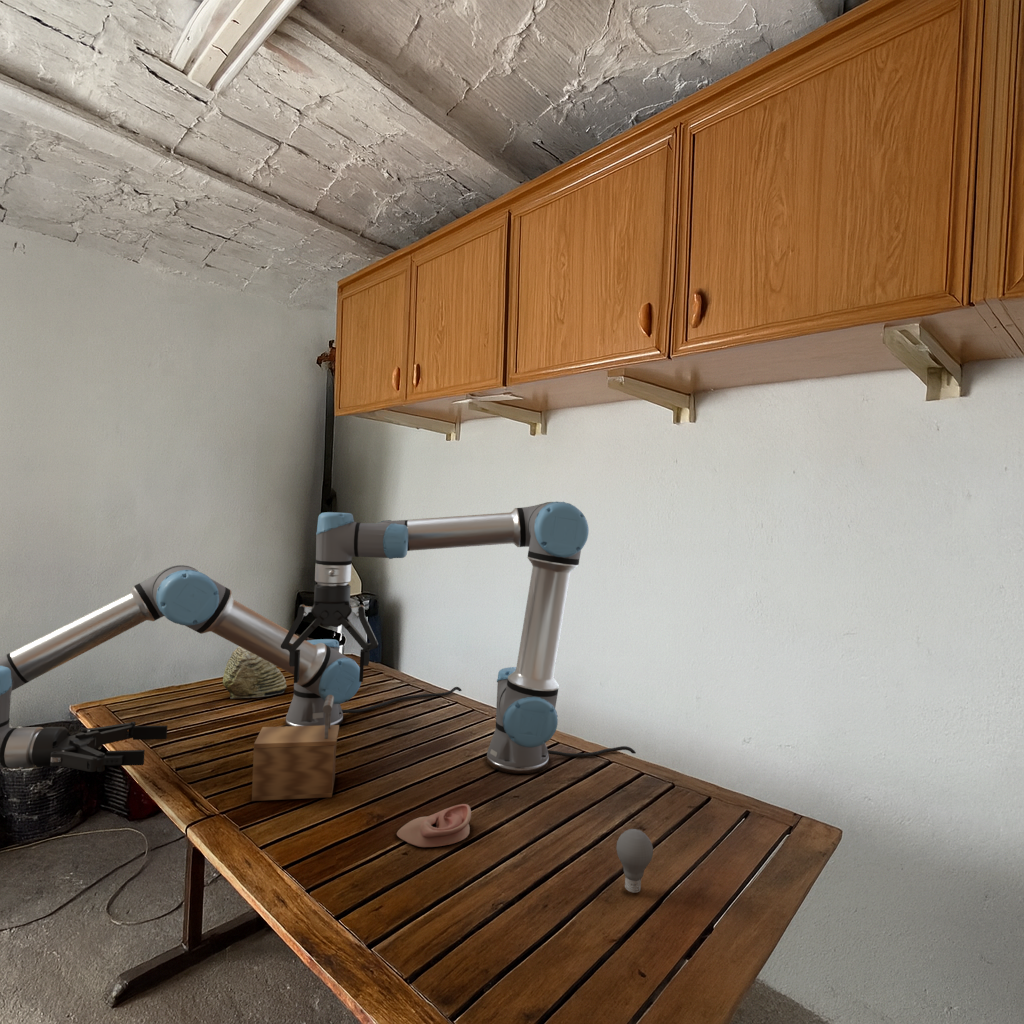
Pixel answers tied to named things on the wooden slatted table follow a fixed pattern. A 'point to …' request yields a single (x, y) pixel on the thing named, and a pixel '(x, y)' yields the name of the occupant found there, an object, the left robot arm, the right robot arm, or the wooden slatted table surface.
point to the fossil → (252, 676)
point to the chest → (293, 772)
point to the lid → (301, 733)
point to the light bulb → (634, 857)
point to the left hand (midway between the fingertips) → (156, 744)
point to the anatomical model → (438, 827)
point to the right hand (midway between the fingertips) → (329, 680)
